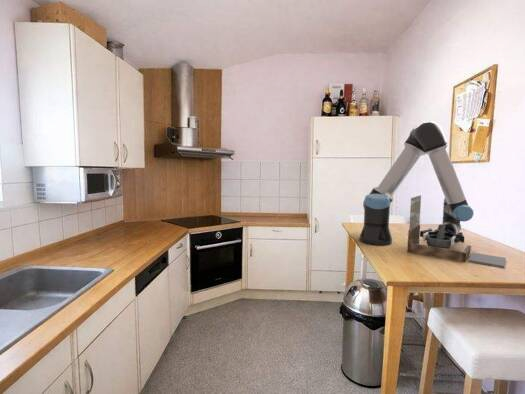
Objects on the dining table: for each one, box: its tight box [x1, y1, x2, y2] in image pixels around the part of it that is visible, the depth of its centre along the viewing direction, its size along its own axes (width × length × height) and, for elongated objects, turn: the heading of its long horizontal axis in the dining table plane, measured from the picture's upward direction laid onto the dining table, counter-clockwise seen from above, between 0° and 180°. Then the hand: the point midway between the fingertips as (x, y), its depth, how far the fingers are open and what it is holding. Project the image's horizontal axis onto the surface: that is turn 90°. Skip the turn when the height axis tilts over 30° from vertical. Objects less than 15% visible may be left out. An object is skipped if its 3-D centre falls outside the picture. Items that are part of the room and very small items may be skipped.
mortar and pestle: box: [426, 224, 452, 249], centre depth 129 cm, size 11×9×12 cm
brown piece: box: [407, 195, 472, 263], centre depth 128 cm, size 21×15×24 cm
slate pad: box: [468, 252, 506, 269], centre depth 119 cm, size 11×13×1 cm
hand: (437, 240), depth 126 cm, fingers open, 10 cm apart
